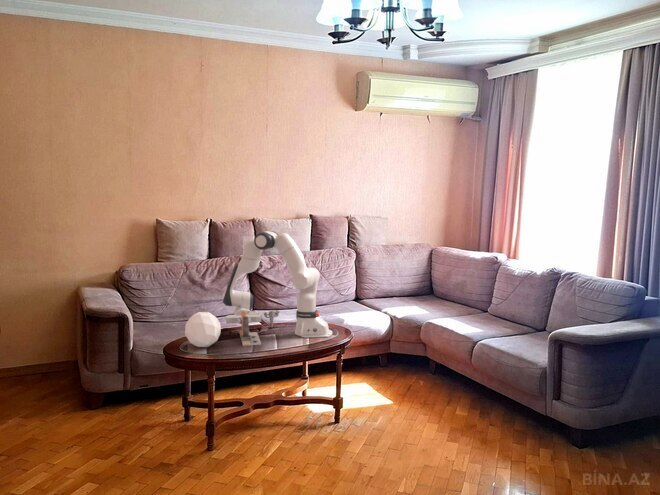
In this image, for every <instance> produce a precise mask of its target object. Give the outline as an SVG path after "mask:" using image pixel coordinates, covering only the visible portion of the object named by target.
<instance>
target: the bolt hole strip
mask: <svg viewBox="0 0 660 495" xmlns="http://www.w3.org/2000/svg"><path fill="white" fill-rule="evenodd" d="M249 335H250V336H251V341H250V346H261V345H262V341H261V339H260V336H259V333H258V332H255V331H254V332H251V331H250V332H249Z"/></svg>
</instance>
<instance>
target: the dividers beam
mask: <svg viewBox="0 0 660 495" xmlns="http://www.w3.org/2000/svg"><path fill="white" fill-rule="evenodd" d="M249 324H250V323H248V316H244V317H243V335H240V334H239V337H240V340H241V343H242V346H244V347H248V346H250V347H251V345H250V341H251V336H250V335H249V333H250V329H249Z"/></svg>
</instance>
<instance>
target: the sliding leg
mask: <svg viewBox="0 0 660 495" xmlns="http://www.w3.org/2000/svg"><path fill="white" fill-rule="evenodd" d="M244 316H247V311H242V312H241V320H242V324H241V329H239V336H240V335H243V317H244Z"/></svg>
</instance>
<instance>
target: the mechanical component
mask: <svg viewBox="0 0 660 495" xmlns="http://www.w3.org/2000/svg"><path fill="white" fill-rule="evenodd" d="M279 314H280V310H276V309H275V310H269V311H268V312H267V311H265V312H264V313H263V315H264V316H263V317H264V318H265V319H269V324H270V328H273V327H274V320H275V319H274V318H278V317H279Z"/></svg>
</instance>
